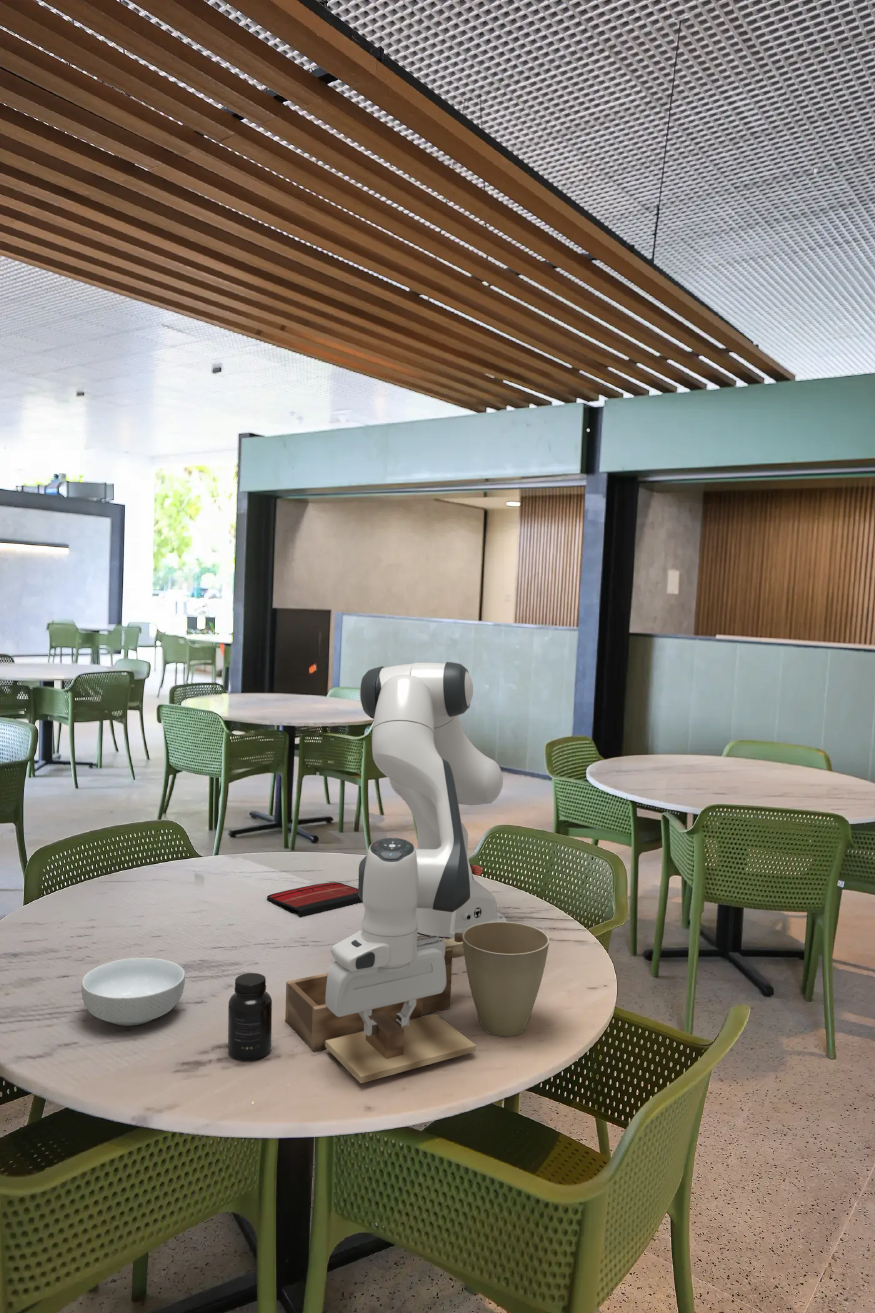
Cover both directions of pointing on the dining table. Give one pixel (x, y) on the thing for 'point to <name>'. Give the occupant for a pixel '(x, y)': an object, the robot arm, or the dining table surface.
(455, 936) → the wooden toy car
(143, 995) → the cereal bowl
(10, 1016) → the dining table surface
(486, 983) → the plant pot
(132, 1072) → the dining table surface
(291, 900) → the binder
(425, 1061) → the lid
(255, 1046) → the supplement bottle
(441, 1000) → the open wooden box
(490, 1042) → the dining table surface
